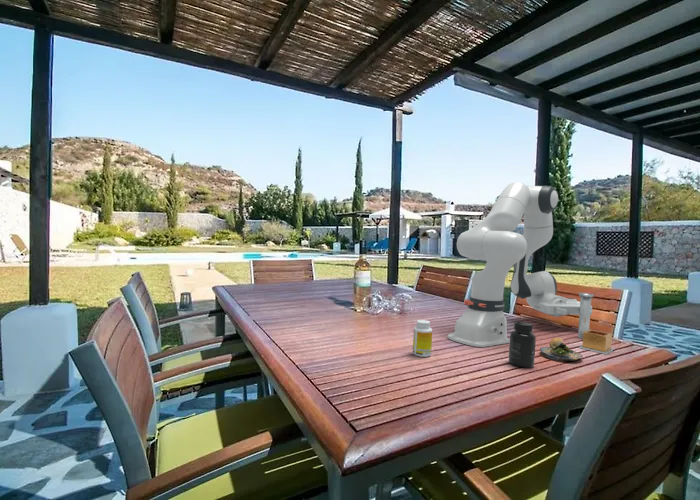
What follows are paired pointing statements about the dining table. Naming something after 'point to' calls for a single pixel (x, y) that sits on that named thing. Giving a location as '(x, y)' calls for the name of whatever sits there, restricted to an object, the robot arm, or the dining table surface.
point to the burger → (559, 351)
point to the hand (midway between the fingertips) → (578, 312)
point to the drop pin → (584, 313)
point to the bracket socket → (597, 341)
